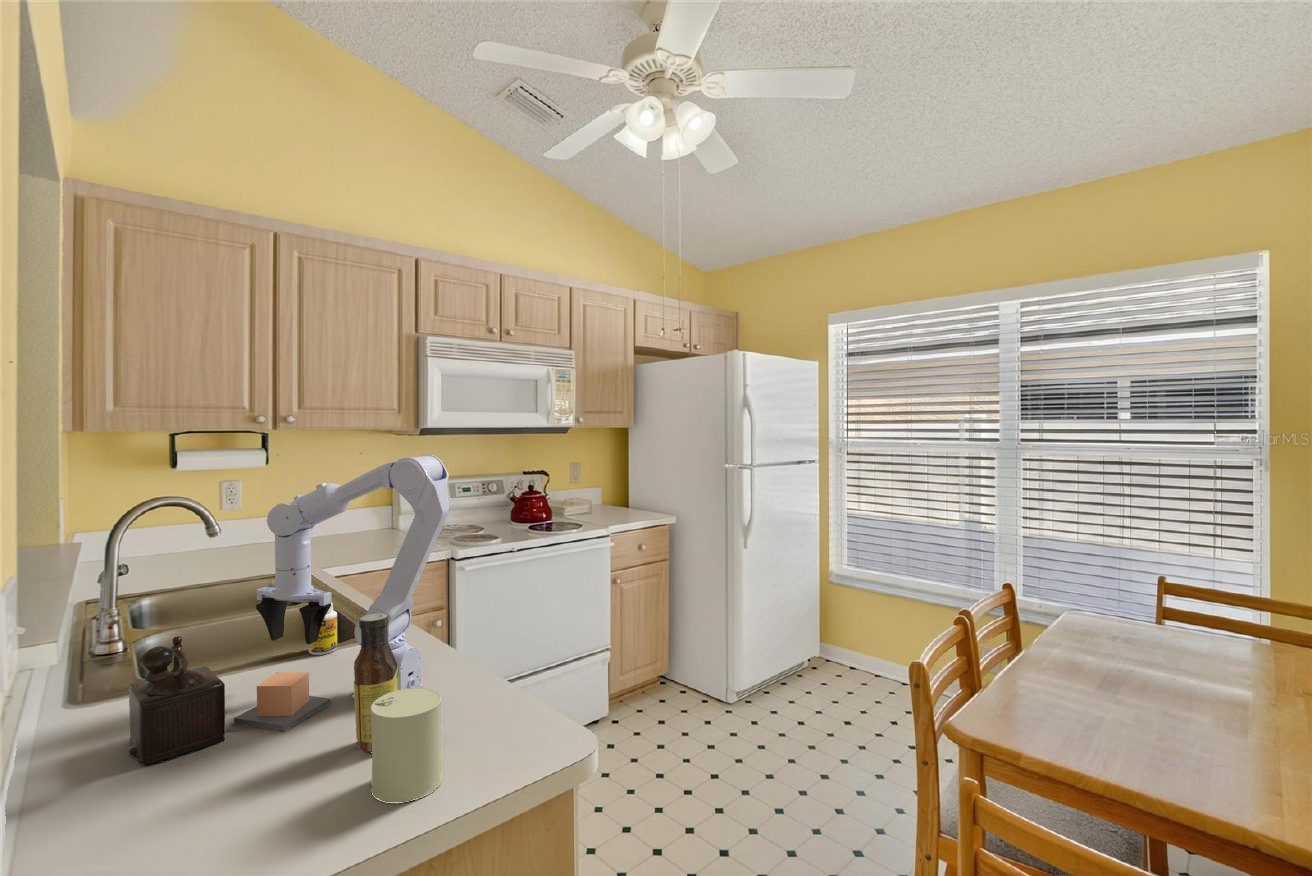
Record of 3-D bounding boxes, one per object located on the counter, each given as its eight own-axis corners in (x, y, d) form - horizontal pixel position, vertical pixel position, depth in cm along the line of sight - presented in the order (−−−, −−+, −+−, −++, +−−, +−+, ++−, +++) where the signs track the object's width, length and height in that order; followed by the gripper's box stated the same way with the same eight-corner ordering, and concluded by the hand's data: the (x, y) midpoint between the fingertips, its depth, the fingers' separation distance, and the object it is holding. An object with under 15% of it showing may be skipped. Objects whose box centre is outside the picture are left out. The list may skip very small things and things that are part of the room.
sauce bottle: (409, 740, 99) (407, 614, 99) (373, 759, 94) (371, 626, 93) (382, 730, 103) (380, 608, 102) (345, 747, 97) (344, 618, 97)
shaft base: (330, 704, 112) (330, 678, 112) (284, 731, 102) (283, 704, 102) (283, 697, 114) (283, 672, 114) (234, 723, 104) (233, 696, 104)
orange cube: (309, 700, 111) (308, 672, 111) (291, 715, 105) (291, 685, 105) (276, 700, 111) (275, 672, 111) (257, 716, 105) (256, 686, 105)
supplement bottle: (309, 658, 133) (308, 609, 132) (307, 649, 137) (306, 602, 137) (339, 652, 136) (338, 605, 135) (335, 644, 140) (335, 598, 140)
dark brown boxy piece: (122, 745, 98) (119, 629, 97) (208, 719, 106) (206, 612, 105) (144, 784, 87) (141, 655, 87) (237, 753, 96) (235, 634, 95)
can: (384, 767, 92) (383, 685, 92) (449, 764, 93) (449, 683, 92) (360, 806, 83) (359, 715, 82) (433, 802, 84) (432, 712, 83)
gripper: (342, 564, 119) (343, 636, 120) (277, 560, 122) (278, 630, 123) (314, 573, 112) (315, 650, 113) (246, 568, 115) (247, 642, 116)
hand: (294, 640), depth 117 cm, fingers open, 7 cm apart
